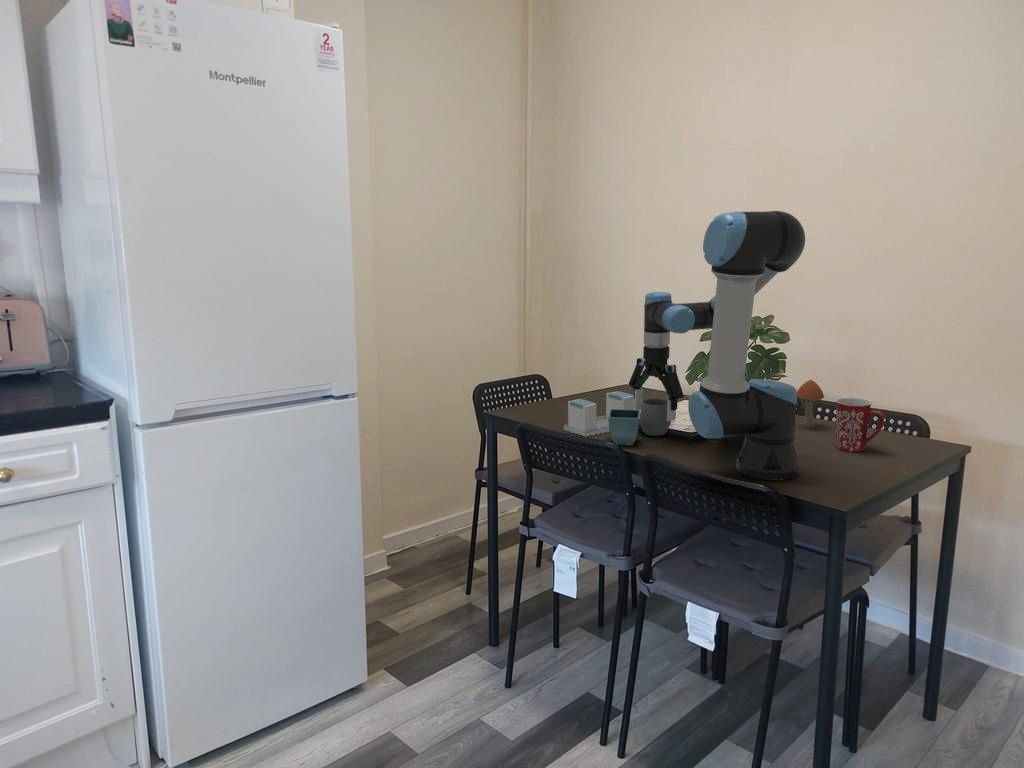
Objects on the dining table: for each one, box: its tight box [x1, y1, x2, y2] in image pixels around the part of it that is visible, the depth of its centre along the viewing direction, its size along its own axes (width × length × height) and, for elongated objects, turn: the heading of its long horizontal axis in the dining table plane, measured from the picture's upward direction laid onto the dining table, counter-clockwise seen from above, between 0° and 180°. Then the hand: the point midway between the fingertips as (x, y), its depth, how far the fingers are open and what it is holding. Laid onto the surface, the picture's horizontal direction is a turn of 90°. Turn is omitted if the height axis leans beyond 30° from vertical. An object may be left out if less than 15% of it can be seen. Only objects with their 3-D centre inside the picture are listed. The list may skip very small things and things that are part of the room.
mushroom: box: [796, 379, 825, 429], centre depth 214 cm, size 8×8×15 cm
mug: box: [835, 397, 885, 453], centre depth 193 cm, size 13×9×14 cm
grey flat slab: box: [563, 415, 610, 437], centre depth 221 cm, size 10×22×2 cm, turn 124°
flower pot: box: [608, 409, 641, 446], centre depth 204 cm, size 9×9×9 cm
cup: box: [639, 398, 672, 437], centre depth 212 cm, size 10×9×10 cm
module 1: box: [567, 398, 597, 432], centre depth 216 cm, size 8×5×8 cm, turn 34°
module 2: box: [605, 390, 635, 418], centre depth 224 cm, size 8×5×8 cm, turn 34°
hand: (654, 415), depth 213 cm, fingers open, 13 cm apart
